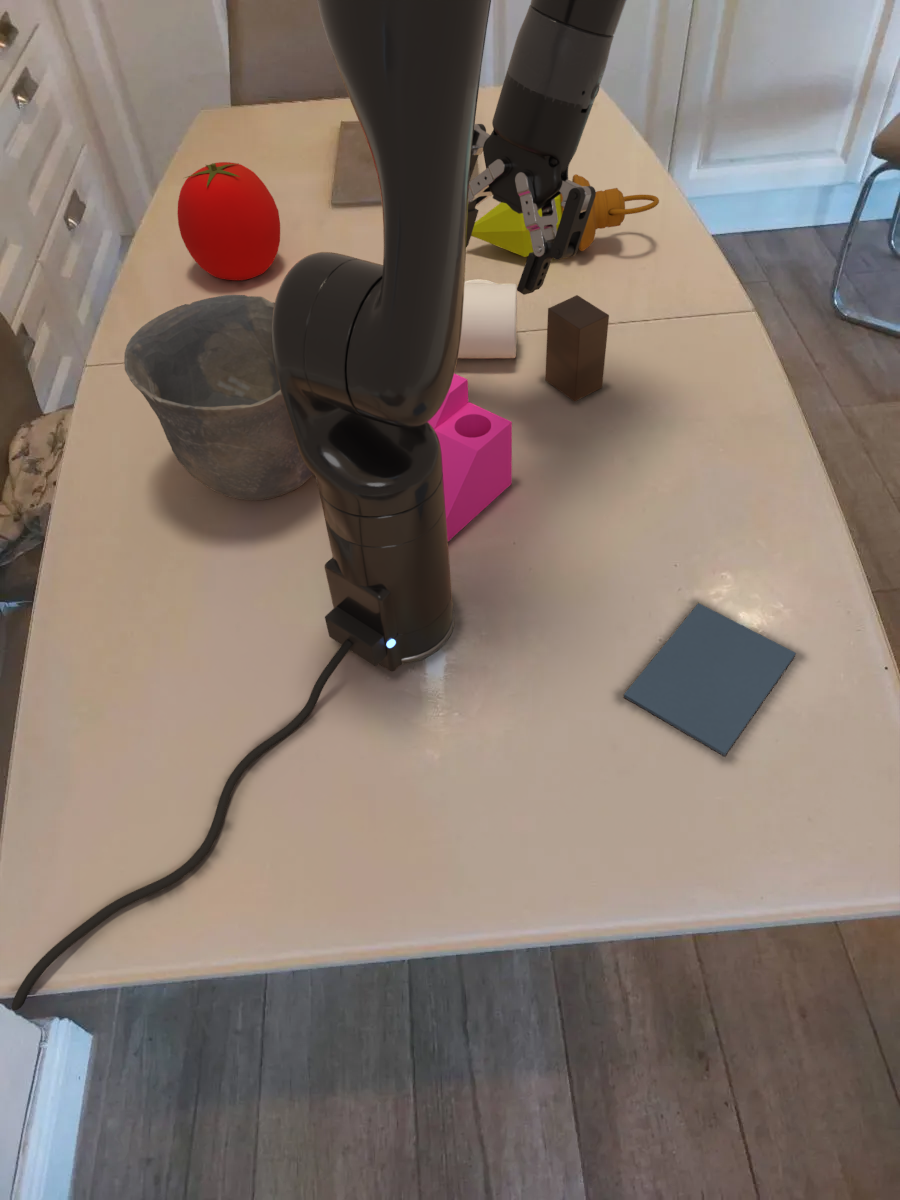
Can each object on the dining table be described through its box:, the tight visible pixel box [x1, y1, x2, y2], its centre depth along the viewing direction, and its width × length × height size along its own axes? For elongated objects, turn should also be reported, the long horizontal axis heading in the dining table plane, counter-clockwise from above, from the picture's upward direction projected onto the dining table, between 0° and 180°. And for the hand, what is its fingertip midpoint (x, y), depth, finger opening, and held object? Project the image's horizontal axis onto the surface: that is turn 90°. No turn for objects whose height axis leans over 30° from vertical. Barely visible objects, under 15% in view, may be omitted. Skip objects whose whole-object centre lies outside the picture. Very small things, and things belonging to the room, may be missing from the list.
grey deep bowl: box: [123, 294, 314, 501], centre depth 87 cm, size 18×18×15 cm
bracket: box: [428, 372, 513, 542], centre depth 86 cm, size 12×10×10 cm
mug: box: [458, 278, 518, 359], centre depth 103 cm, size 12×10×8 cm
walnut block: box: [544, 294, 610, 402], centre depth 97 cm, size 5×4×9 cm
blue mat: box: [623, 602, 797, 757], centre depth 74 cm, size 12×9×1 cm
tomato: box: [176, 161, 281, 281], centre depth 114 cm, size 13×11×14 cm
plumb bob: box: [471, 173, 660, 258], centre depth 116 cm, size 9×9×25 cm
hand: (490, 269), depth 85 cm, fingers open, 8 cm apart
